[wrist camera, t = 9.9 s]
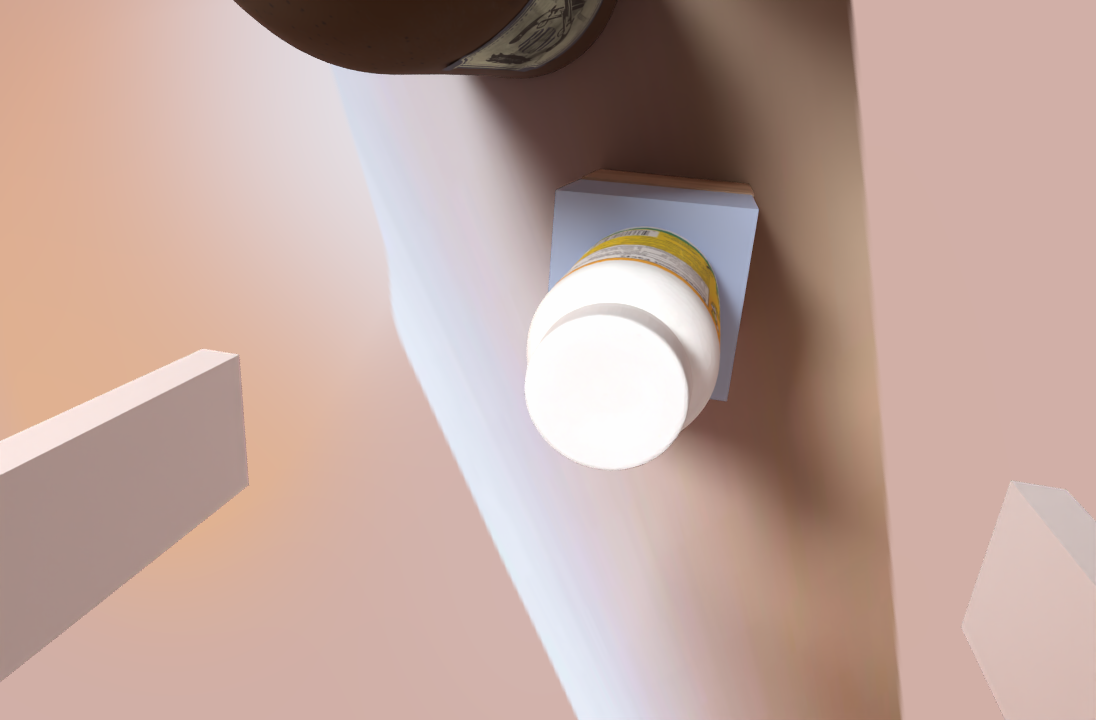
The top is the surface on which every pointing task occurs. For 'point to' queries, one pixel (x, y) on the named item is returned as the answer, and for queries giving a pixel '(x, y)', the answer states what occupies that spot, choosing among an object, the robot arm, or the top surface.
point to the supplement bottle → (624, 349)
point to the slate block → (693, 214)
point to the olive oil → (438, 33)
